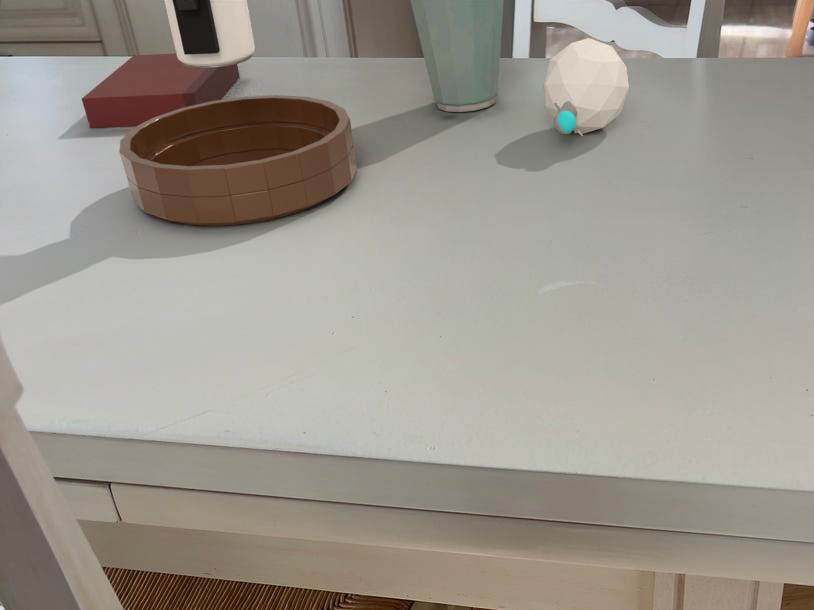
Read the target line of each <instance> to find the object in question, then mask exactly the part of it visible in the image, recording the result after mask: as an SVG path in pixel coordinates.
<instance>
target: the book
mask: <svg viewBox="0 0 814 610" xmlns="http://www.w3.org/2000/svg"><path fill="white" fill-rule="evenodd" d="M240 78H241V76H240V70H239V66H238V64H235V65H230V66H225V67H218V68H192V67H188V66H185V65H184V64H183V63H182V62H181V61H180V60H178V57H177V54H176V52H175V53H157V54H156V53H155V54H137V55H136V54H135V55H132V56H131V57H130V58H129V59H128V60H126V61H124V62H123V64H121V65H120V66H119V67H118V68H116V69H115V70H114V71H113V72H112V73H111V74H110V75H108V76H107V77H106V78H104V80H102V81H101V82H100V83H99V84H97V85H96V86H94V88H93V89H91V90H90V91H89V92H88V93H86V94H85V95H84V96H83V97H81V102H82V106H83V108H84V112H85V116H86V119H87V123H88V125H89V129H101V128H117V127H118V128H119V127H120V128H121V127H136V126H138V125H140V124H142V123H144V122H146V121H148V120H150V119H152V118H154V117H157V116H160V115H163V114H166V113H169V112H172V111H174V110H177V109H181V108H184V107H189V106H193V105H197V104H202V103H206V102H211V101H217V100H223V98H224V97H225V96H226V95H227V93H228V92H230V90H231V89H232V88H233V87H234V85H235V84H236V83H237V82H238V81H239V79H240Z"/></svg>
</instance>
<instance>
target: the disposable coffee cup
mask: <svg viewBox="0 0 814 610" xmlns="http://www.w3.org/2000/svg"><path fill="white" fill-rule="evenodd" d="M504 2H505V0H410V4H411V9H412V13H413V17H414V22H415V26H416V29H417V34H418V38H419V41H420V47H421V50H422V53H423V59H424V63H425V67H426V71H427V77H428V80H429V84H430V89H431V92H432V96H433V101H434V102H436V105H437V109H439V110H442V111H444V112H452V113H464V112H465V113H466V112H473V111H475V112H476V111H479V110H482V109H485V108H489V107H491V106H492V105H493V104H495V103H496V97H497V95H499V82H500V81H499V79H500V65H501V48H502V35H503V34H502V33H503V18H504V17H503V15H504V4H505V3H504Z"/></svg>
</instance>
